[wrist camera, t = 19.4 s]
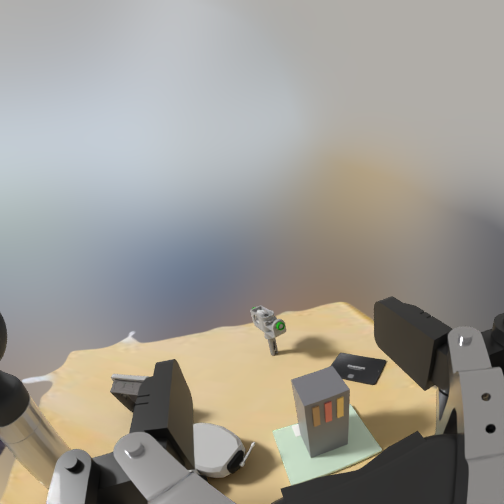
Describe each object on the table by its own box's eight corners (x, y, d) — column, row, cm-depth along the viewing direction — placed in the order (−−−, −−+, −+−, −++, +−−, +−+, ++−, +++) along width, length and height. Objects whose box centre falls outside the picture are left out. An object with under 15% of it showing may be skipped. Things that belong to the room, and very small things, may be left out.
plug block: (311, 458, 31) (304, 407, 27) (300, 434, 36) (291, 379, 32) (348, 444, 31) (350, 390, 28) (334, 421, 36) (332, 365, 33)
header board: (291, 486, 27) (282, 452, 25) (272, 432, 38) (261, 392, 35) (381, 451, 29) (389, 410, 26) (350, 405, 39) (349, 362, 37)
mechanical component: (282, 366, 54) (273, 325, 51) (256, 346, 63) (247, 308, 60) (294, 360, 55) (287, 318, 53) (267, 341, 64) (259, 303, 62)
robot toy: (204, 526, 23) (263, 451, 34) (190, 517, 21) (256, 436, 33) (144, 485, 30) (201, 426, 41) (129, 472, 28) (191, 410, 40)
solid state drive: (374, 386, 42) (374, 384, 42) (324, 376, 49) (324, 373, 49) (386, 362, 47) (386, 360, 47) (340, 354, 54) (340, 352, 53)
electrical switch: (174, 403, 48) (154, 369, 45) (166, 423, 43) (143, 390, 40) (135, 399, 50) (114, 367, 47) (126, 417, 45) (102, 385, 42)
